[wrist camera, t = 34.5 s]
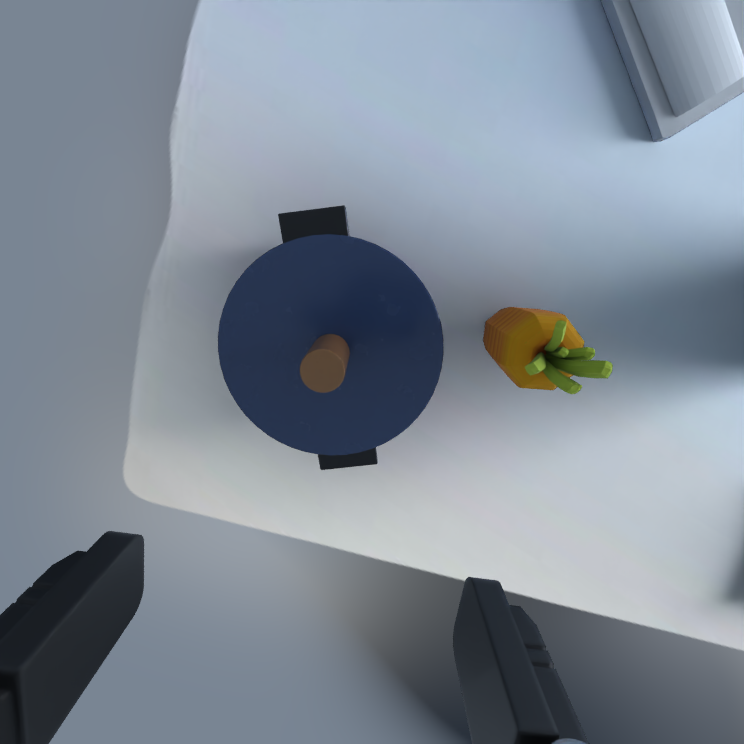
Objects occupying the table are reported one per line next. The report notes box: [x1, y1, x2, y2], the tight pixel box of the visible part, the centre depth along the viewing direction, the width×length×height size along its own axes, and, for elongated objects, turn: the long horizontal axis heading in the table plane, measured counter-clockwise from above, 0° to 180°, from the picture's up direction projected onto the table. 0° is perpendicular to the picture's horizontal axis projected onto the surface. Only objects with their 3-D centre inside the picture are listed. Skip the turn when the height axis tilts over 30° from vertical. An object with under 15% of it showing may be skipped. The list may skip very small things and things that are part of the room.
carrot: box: [483, 307, 613, 394], centre depth 28 cm, size 5×5×15 cm
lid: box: [218, 234, 443, 455], centre depth 27 cm, size 15×15×6 cm
